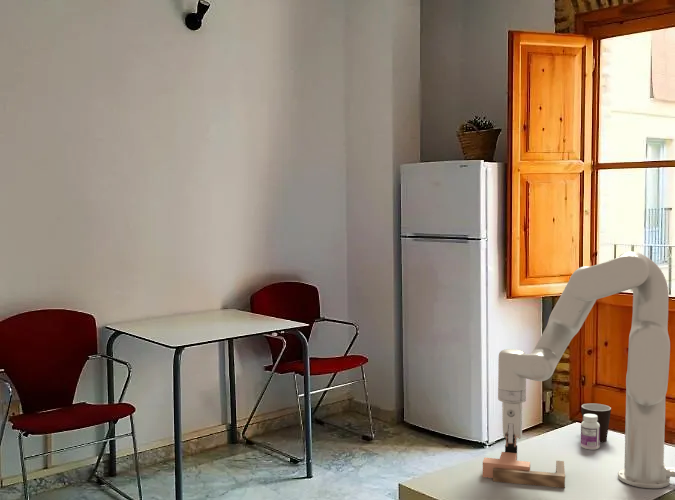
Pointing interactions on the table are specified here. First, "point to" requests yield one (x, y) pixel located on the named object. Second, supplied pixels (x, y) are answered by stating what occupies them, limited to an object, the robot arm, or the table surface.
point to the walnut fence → (532, 476)
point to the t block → (503, 463)
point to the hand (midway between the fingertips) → (511, 459)
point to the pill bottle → (590, 432)
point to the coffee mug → (599, 417)
